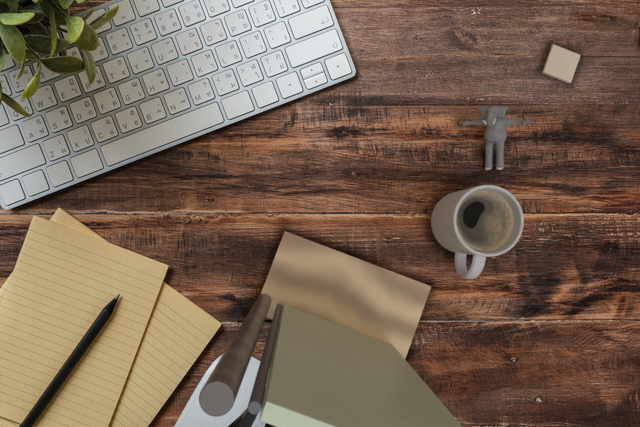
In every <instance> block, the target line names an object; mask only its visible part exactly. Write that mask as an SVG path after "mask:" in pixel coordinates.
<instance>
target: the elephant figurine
mask: <svg viewBox="0 0 640 427" xmlns="http://www.w3.org/2000/svg"><path fill="white" fill-rule="evenodd" d="M509 109H510V107H509V106H507V105H498V104H492V105H489V106H483V105H481V106H479V107H478V108H477V110H478V111H479V113H480V117H481V118H477V119H474V120H469V119H467V120H463V121H459V122H458V123H459V125H460V124H462V126H477V127H478V126H479V127H480V126H481V127H484V128H485V130H484V132H483V139H484V141H485V146H484V148H485V150H484V151H485V160H484V170H485V171H490V170H493V168H494V167H493V166H494V165H493V159H494V146H495V151H496V152H495V154H496V155H495V156H496V157H495V158H496V159H495V160H496V161H495V162H496V164H495V167H496V170H497V171H501V170H504V169H505V158H504V157H505V156H504V155H505V152H504V151H505V142H506V140H507V138H508V132H507V128H506V127H512V126H525V125H528V124H530V125H531V124H533V123H534V121H533V120H527V119H523V120H516V119H512V118H507V117H506V116H505V115H506V112H507V110H509Z"/></svg>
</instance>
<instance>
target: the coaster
mask: <svg viewBox="0 0 640 427" xmlns="http://www.w3.org/2000/svg"><path fill="white" fill-rule="evenodd" d="M581 56H582V55H581V54H579V53H577V52H575V51H572V50H569V49H567V48H564V47H562V46H559V45H556V44H554V43H553V44H551V46H550V48H549V51H548V54H547V57H546V60H545V62H544V65H543V68H542V70H541V74H543V75H546V76H549V77H551V78H553V79H556V80H559V81H560V82H564V83H566V84H571V83H572V81H573V79H574V76H575V73H576V71H577V67H578V65H579V61H580V59H581Z"/></svg>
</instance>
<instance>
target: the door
mask: <svg viewBox="0 0 640 427" xmlns="http://www.w3.org/2000/svg"><path fill="white" fill-rule="evenodd" d="M281 309H282V311H281ZM280 314H281V315H280ZM279 319H280V320H279ZM265 388H266V389H265ZM250 393H251V394H250V397H249V401H248V404H247V407H248V411H249V412H250V413H251V414H254V415H255V414H259V413H260V414H259V421H260V422H262V423H265V424H268V425H270V426H273V427H463V425H462V424H461V423H460V422H459V421H458V420H457V418H456V417H455V416H454V415H453V414H452V412H451V411H450V410H449V409H448V408H447V406H445V404H444V403H443V402H442V401H441V400H440V398H439V397H437V395H436V394H435V393H434V391H433V390H432V389H431V388H430V386H428V384H427V383H426V382H425V381H424V379H422V378H421V376H420V374H418V373H417V372H416V370H414V368H413V367H412V366H411V365H410V363H409V362H408V361H407V360H406V359H404V358H403V356H402V355H401V354H400V353H399V352H398V351H397V349H396V348H395V347H394V346H393V345H392V344H390V343H387V342H384V341H382V340H379V339H376V338H374V337H371V336H368V335H366V334H363V333H360V332H358V331H355V330H352V329H350V328H347V327H344V326H342V325H339V324H336V323H334V322H331V321H328V320H325V319H323V318H320V317H317V316H315V315H312V314H309V313H307V312H304V311H301V310H299V309H296V308H293V307H291V306H288V305H285V304H284V305H283V308H282V305H281V304H277V305H276V309H275V312H274V316H273V319H271V323H270V326H269V330H268V334H267V337H266V341H265V343H264V347H263V351H262V354H261V358H260V362H259V365H258V368H257V372H256V376H255V379H254V382H253V386H252V389H251V392H250ZM264 393H265V394H264ZM263 398H264V399H263ZM262 403H263V404H262Z"/></svg>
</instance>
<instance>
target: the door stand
mask: <svg viewBox="0 0 640 427" xmlns="http://www.w3.org/2000/svg"><path fill="white" fill-rule="evenodd" d="M431 290H432V286H431V285H430V284H427V283H424V282H422V281H419V280H416V279H415V278H411V277H409V276H406V275H404V274H400V273H397V272H395V271H392V270H389V269H387V268H385V267H383V266H379V265H377V264H374V263H371V262H370V261H366V260H364V259H361V258H358V257H356V256H352V255H350V254H347V253H346V252H343V251H340V250H336V249H334V248H332V247H329V246H326V245H324V244H321V243H319V242H316V241H313V240H311V239H308V238H305V237H302V236H300V235H297V234H295V233H292V232H289V231H287V230H284V232H283V234H282V237H281V239H280V242H279V243H278V247H277V250H276V253H275V255H274V258H273V260H272V263H271V266H270V269H269V271H268V273H267V276H266V279H265V282H264V284H263V287H262V289H261V292H260V294H259V295H258V296H257V298H256V299H255V301H254V303H252V304H253V305H252V306H251V308H250V309H249V311H248V313H247V314H246V316H245V317H244V319H243V321H242V322H241V324H240V326H239V327H238V329H237V330H236V332H235V334H234V335H233V338H232V339H231V340H230V342H229V344H228V345H227V347H226V348H225V350H224V352H223V354H222V355H221V356H220V359H219V360H218V362H217V364H216V365H215V367H214V368H213V370H212V371H211V373H210V375H209V377H208V378H207V380H206V381H205V383H204V385H203V386H202V388H201V389H200V391H199V395H198V402H199V407H200V409H201V410H202V411H203V412H204V413H205V414H206V415H208V416H211V417H214V418H215V417H217V418H218V417H223V416H225V415H227V414H229V412H230V411H231V410H232V408H233V407H234V405H235V402H236V399H237V397H238V393H239V391H240V388H241V385H242V383H243V380H244V377H245V375H246V372H247V369H248V367H249V364H250V361H251V359H252V356H253V353H254V351H255V348H256V345H257V343H258V340H259V337H260V334H261V331H262V329H263V326H264V324H265V321H266V318H267V319H270V320H272V319H273V316H274V312H275V309H276V305H277V304H281V305H282V308H283V305H284V304H285V305H288V306H291V307H293V308H296V309H299V310H301V311H304V312H307V313H309V314H312V315H315V316H317V317H320V318H323V319H325V320H328V321H331V322H334V323H336V324H339V325H342V326H344V327H347V328H350V329H352V330H355V331H358V332H360V333H363V334H366V335H368V336H371V337H374V338H376V339H379V340H382V341H384V342H387V343H390V344H392V345H393V346H394V347H395V348H396V349H397V351H398V352H399V353H400V354H401V355H402V356H403V358H404V359H405V360H406V358H407V356H408V353H409V350H410V347H411V345H412V342H413V340H414V337H415V334H416V331H417V328H418V325H419V323H420V320H421V317H422V315H423V313H424V312H423V311H424V309H425V306H426V303H427V301H428V298H429V295H430V293H431ZM281 311H282V309H281ZM280 315H281V314H280ZM279 320H280V319H279Z"/></svg>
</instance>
